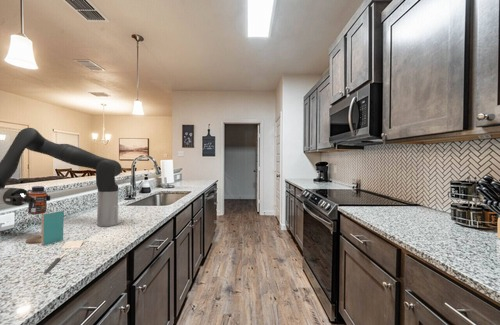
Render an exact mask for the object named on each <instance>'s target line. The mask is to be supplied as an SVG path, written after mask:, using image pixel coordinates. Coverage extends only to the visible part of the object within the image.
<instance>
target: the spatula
mask: <svg viewBox="0 0 500 325" xmlns="http://www.w3.org/2000/svg"><path fill="white" fill-rule="evenodd" d="M84 242H85V241H84V239H82V240H68V241H66V242H65V243H64V244H63V245H62V246H61V249H70V248H73V249H74V248H81V247H82V245H83V244H84ZM67 253H68V252H63V254H61V255H60V256H59V257H57V258H56V259H55V260H54V261H53V262H52V263H51V264H50V265H49V266H48V267H47V268H46V269H45V271H44V272H42V274H45V275H46V274H48V273H49V272H51V270H53V269H54V268H55V266H56V265H58V264H59V262H60V260H62V258H63V257H64V256H66V254H67Z"/></svg>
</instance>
